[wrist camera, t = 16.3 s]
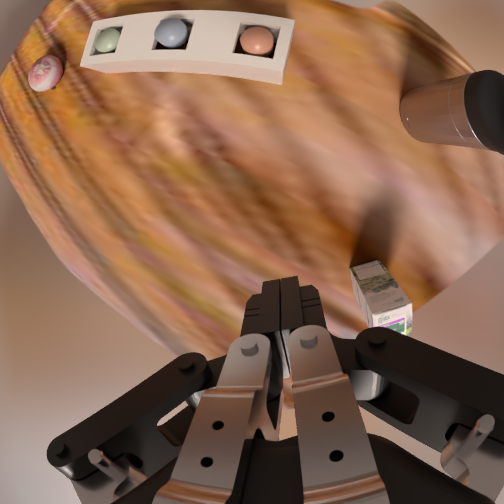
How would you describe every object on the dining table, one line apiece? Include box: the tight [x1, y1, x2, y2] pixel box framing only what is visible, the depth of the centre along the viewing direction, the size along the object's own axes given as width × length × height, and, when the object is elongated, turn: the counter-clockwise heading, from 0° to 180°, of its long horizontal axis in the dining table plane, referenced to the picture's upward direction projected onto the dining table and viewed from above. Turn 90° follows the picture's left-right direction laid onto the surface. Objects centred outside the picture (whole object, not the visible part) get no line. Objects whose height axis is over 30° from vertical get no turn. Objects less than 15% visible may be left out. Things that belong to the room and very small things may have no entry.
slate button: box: [154, 18, 190, 48], centre depth 25 cm, size 4×4×2 cm
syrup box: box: [350, 260, 412, 335], centre depth 38 cm, size 6×6×14 cm
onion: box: [29, 55, 63, 92], centre depth 31 cm, size 8×8×7 cm
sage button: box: [95, 28, 121, 54], centre depth 27 cm, size 4×4×2 cm
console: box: [80, 10, 295, 85], centre depth 29 cm, size 30×8×8 cm, turn 78°
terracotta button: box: [240, 27, 273, 57], centre depth 27 cm, size 4×4×2 cm
